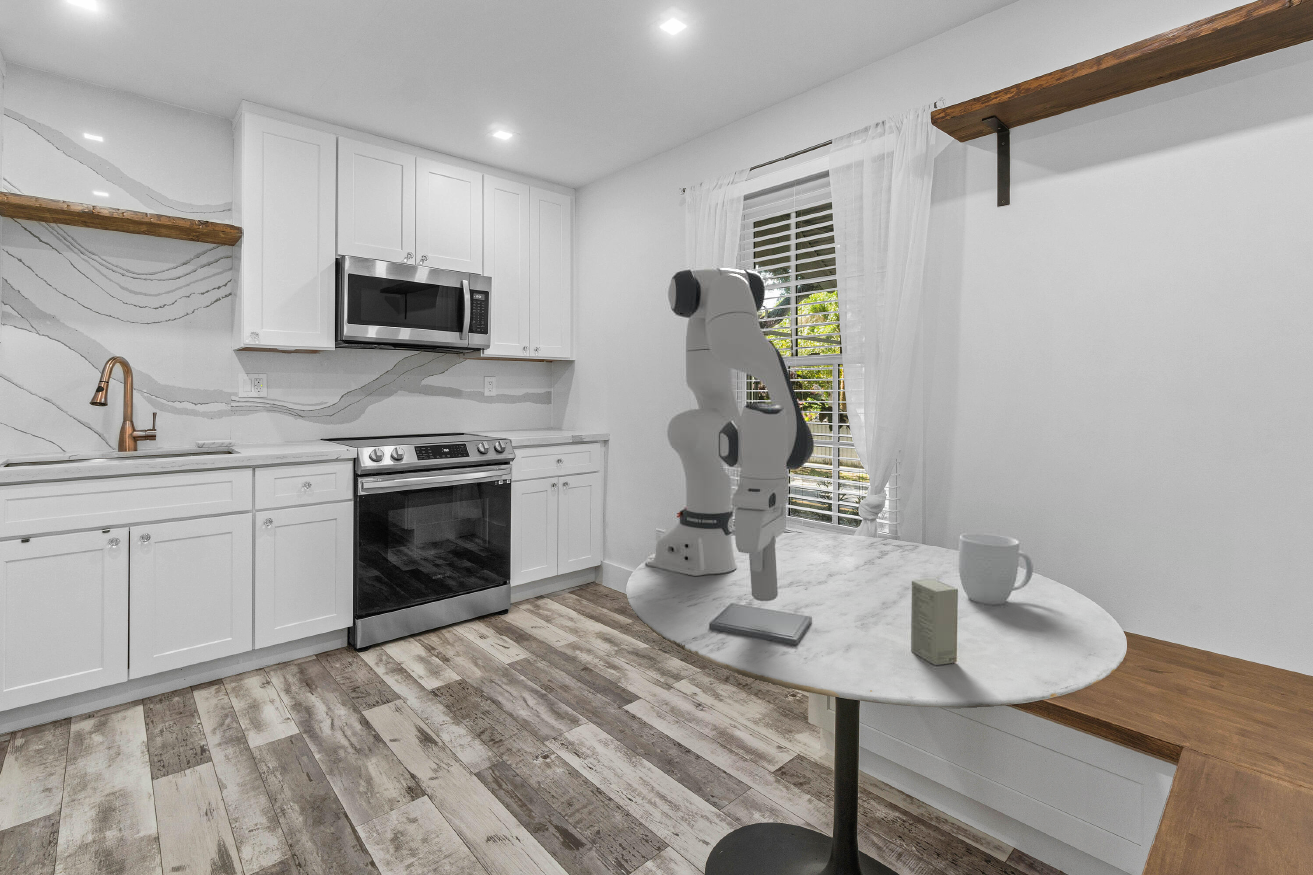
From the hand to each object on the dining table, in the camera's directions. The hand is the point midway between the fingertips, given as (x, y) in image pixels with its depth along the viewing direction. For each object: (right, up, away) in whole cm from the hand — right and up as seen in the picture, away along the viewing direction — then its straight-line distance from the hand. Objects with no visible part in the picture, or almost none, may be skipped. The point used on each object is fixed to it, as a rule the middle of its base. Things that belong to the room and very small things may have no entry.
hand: (762, 566), depth 112 cm
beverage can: (0, -6, 0) cm, 6 cm away
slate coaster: (0, -11, +1) cm, 11 cm away
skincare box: (+26, -13, -12) cm, 31 cm away
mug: (+51, -11, +16) cm, 54 cm away
